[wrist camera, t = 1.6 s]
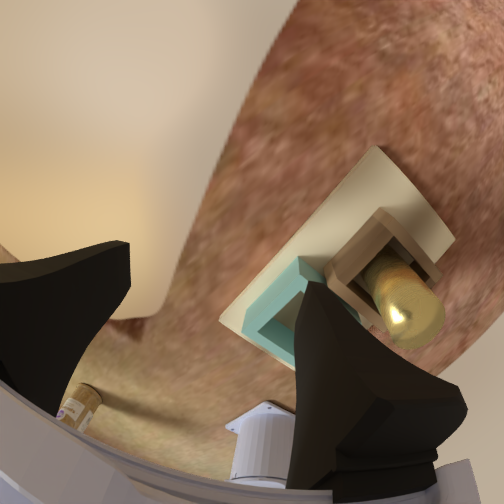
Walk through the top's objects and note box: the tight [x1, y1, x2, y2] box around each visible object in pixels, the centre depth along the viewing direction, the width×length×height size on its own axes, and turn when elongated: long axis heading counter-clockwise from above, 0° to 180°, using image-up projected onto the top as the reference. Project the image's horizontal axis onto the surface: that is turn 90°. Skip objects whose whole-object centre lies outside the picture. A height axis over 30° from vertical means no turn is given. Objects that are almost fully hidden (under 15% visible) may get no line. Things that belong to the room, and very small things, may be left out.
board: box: [219, 145, 456, 371], centre depth 21 cm, size 10×18×1 cm, turn 142°
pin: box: [359, 244, 445, 349], centre depth 16 cm, size 3×3×8 cm
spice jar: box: [56, 383, 102, 433], centre depth 26 cm, size 5×4×13 cm
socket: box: [241, 256, 362, 367], centre depth 20 cm, size 6×6×3 cm
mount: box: [323, 207, 443, 333], centre depth 18 cm, size 6×6×3 cm
